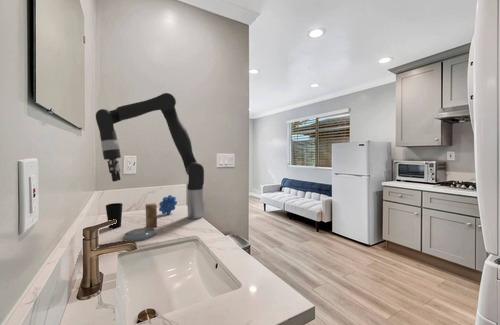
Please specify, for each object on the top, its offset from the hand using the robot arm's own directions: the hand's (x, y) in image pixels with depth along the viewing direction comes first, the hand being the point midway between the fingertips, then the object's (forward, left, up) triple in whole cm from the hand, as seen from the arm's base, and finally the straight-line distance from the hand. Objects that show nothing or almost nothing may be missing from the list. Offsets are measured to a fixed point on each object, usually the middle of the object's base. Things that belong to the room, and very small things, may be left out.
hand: (116, 180), depth 115 cm
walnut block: (-15, +7, -25) cm, 30 cm away
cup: (+1, -4, -25) cm, 26 cm away
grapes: (-29, -14, -25) cm, 41 cm away
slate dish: (-8, +17, -25) cm, 31 cm away
